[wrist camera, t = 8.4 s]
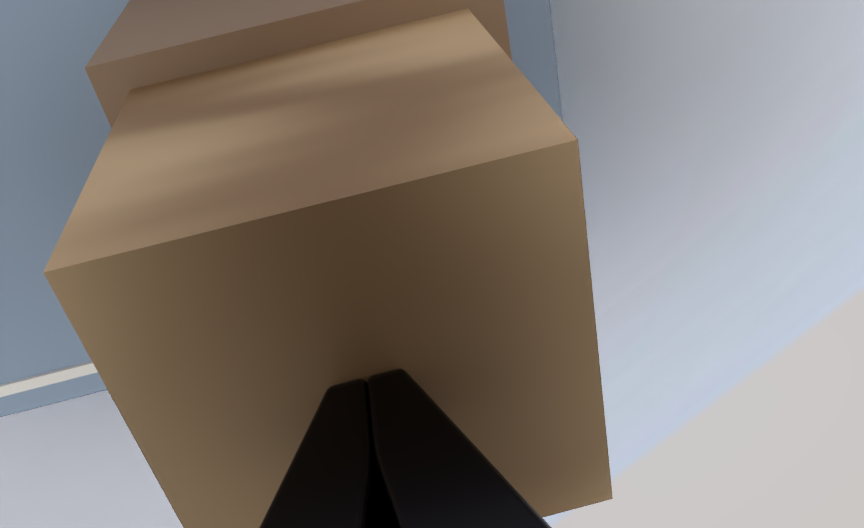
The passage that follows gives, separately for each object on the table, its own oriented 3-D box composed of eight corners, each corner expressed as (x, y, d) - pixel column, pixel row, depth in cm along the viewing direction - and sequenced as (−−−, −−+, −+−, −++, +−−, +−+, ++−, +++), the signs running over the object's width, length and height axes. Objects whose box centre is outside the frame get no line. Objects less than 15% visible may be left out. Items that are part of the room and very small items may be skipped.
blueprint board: (-24, 400, 21) (-122, 600, 16) (-358, -88, 14) (-708, -16, 9) (566, 248, 21) (656, 394, 16) (503, -287, 15) (620, -320, 10)
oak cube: (240, 355, 14) (224, 602, 10) (130, 89, 11) (42, 272, 7) (513, 286, 14) (611, 498, 10) (468, 8, 12) (576, 140, 7)
